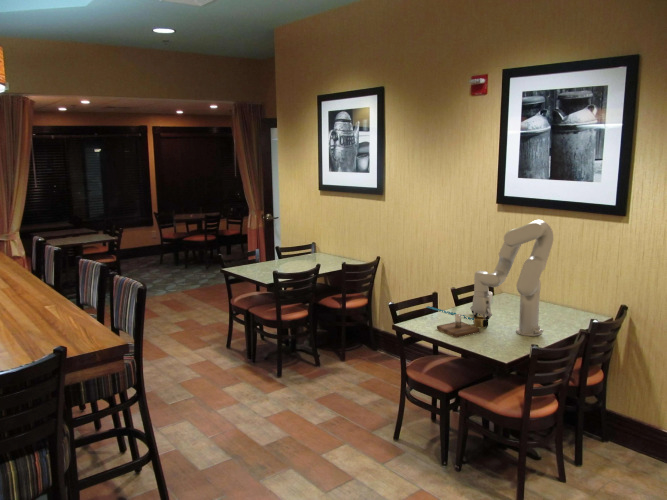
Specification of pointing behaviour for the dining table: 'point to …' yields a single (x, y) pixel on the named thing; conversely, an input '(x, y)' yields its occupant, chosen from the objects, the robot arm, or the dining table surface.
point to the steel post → (457, 320)
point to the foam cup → (490, 297)
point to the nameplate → (446, 312)
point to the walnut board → (458, 329)
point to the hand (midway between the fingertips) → (480, 324)
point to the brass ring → (478, 321)
